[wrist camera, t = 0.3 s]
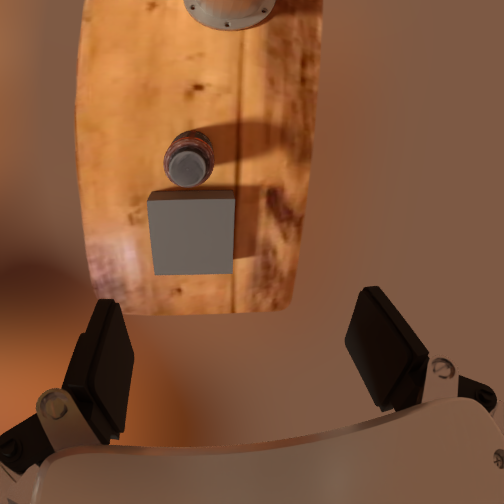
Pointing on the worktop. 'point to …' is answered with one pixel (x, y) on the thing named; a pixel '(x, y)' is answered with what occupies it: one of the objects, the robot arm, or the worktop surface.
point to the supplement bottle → (189, 159)
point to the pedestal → (192, 231)
